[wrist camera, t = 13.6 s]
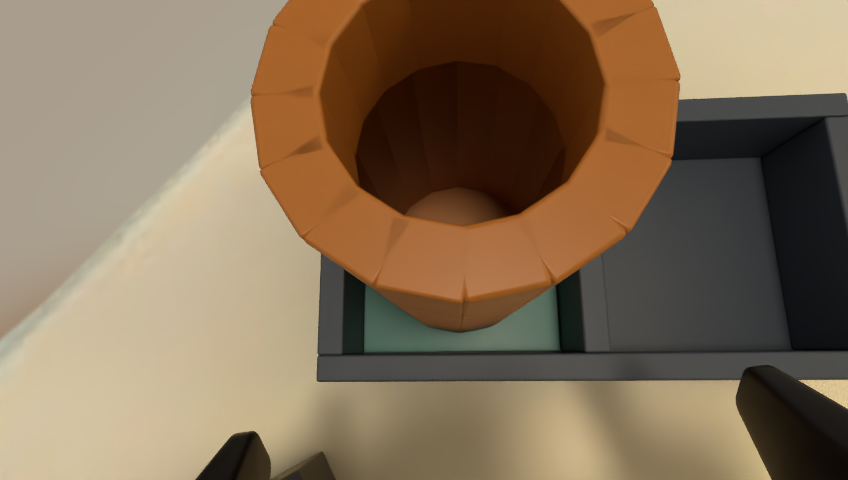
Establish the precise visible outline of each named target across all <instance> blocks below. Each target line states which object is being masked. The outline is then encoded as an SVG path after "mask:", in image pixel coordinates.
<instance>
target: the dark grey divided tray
mask: <svg viewBox="0 0 848 480" xmlns="http://www.w3.org/2000/svg"><path fill="white" fill-rule="evenodd" d="M671 160H672V162H671V166H670V167H669V169H668V171H667V172H666V174H665V176H664V177H663V179H662V181H661V182H660V184H659V186H658V187H657V189H656V191H655V192H654V194H653V196H652V197H651V199H650V201H649V202H648V204H647V206H646V207H645V209H644V211H643V212H642V214H641V216H640V217H639V219H638V221H637V222H636V224H635V226H634V227H633V229H632V230H631V231H630V232H628V233H627V234H626V235H625V237H624V238H623V239H622V240H620V241H619V242H617V243H616V244H615V245H613V246H612V247H610V248H609V249H607V250H606V251H605V252H603V253H602V254H600V255H599V256H597V257H596V258H594V259H593V260H592V261H590V262H589V263H587V264H586V265H584V266H583V267H581V268H580V269H579V270H577V271H576V272H574V273H573V274H571V275H570V276H568V277H567V278H566V279H564V280H563V281H561V282H560V283H558V284H557V285H555V286H554V287H552V288H551V289H549V290H547V291H546V292H544V293H543V294H541V295H540V296H538V297H537V298H535V299H534V300H532V301H531V302H529V303H528V304H526V305H524V306H523V307H521V308H520V309H518V310H517V311H515V312H514V313H512V314H511V315H509V316H508V317H506V318H504V319H503V320H501V321H500V322H498V323H497V324H495V325H494V326H491V327H488V328H483V329H480V330H476V331H469V332H464V333H456V332H450V331H444V330H440V329H435V328H430V327H429V326H426V325H425V324H423V323H422V322H420V321H419V320H417V319H416V318H414V317H413V316H411V315H410V314H408V313H407V312H405V311H404V310H402V309H401V308H399V307H398V306H397V305H395V304H394V303H392V302H391V301H389V300H388V299H386V298H385V297H384V296H382V295H381V294H379V293H378V292H376V291H375V290H373V289H372V288H371V287H369V286H368V285H366V284H365V283H363V282H362V281H361V280H359V279H358V278H356V277H355V276H353V275H352V274H350V273H349V272H348V271H346V270H345V269H343V268H342V267H340V266H339V265H337V264H336V263H335V262H333V261H332V260H330V259H329V258H327V257H326V256H325V255H323V254H322V253H321V273H320V300H319V326H318V355H319V356H318V358H317V381H318V382H399V381H640V380H741V377H742V374H743V371H744V370H745V369H746V368H747V367H753V366H760V365H771V366H774V367H776V368H778V369H779V370H781V371H783V372H785V373H786V374H788V375H790V376H791V377H793V378H795V379H797V380H848V101H847V96H846V94H845V93H836V94H811V95H786V96H761V97H736V98H711V99H686V100H679V101H678V111H677V121H676V131H675V141H674V151H673V156H672V158H671Z"/></svg>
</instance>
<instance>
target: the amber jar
mask: <svg viewBox="0 0 848 480" xmlns="http://www.w3.org/2000/svg"><path fill="white" fill-rule="evenodd" d="M679 80H680V73H679V70H678V67H677V64H676V61H675V59H674V56H673V53H672V50H671V47H670V45H669V42H668V39H667V36H666V33H665V31H664V28H663V25H662V22H661V19H660V17H659V14H658V11H657V8H656V7H654V4H653V2H652V1H651V0H289V1H288V2H287V3H286V5H285V6H284V7H283V9H282V10H281V11H280V12H279V14H278V15H277V16H276V17H275V19H274V20H273V25H272V26H270V28H269V30H268V34H267V37H266V40H265V44H264V48H263V51H262V55H261V58H260V61H259V65H258V68H257V72H256V75H255V78H254V82H253V85H252V89H251V95H252V97H251V108H252V116H253V123H254V131H255V139H256V146H257V154H258V161H259V167H260V169H261V171H260V173H261V176H262V177H263V179H264V180H265V182H266V184H267V185H268V187H269V188H270V190H271V192H272V193H273V195H274V196H275V198H276V200H277V201H278V203H279V204H280V206H281V208H282V209H283V211H284V212H285V214H286V216H287V217H288V219H289V220H290V222H291V224H292V225H293V227H294V228H295V230H296V232H297V233H298V235H299V236H300V237H301V238H302V239H304V240H305V242H306V243H307V244H309V245H310V246H312V247H313V248H314V249H316V250H317V251H319V252H320V253H322V254H323V255H325V256H326V257H327V258H329V259H330V260H332V261H333V262H335V263H336V264H337V265H339V266H340V267H342V268H343V269H345V270H346V271H348V272H349V273H350V274H352V275H353V276H355V277H356V278H358V279H359V280H361V281H362V282H363V283H365V284H366V285H368V286H369V287H371V288H372V289H373V290H375V291H376V292H378V293H379V294H381V295H382V296H384V297H385V298H386V299H388V300H389V301H391V302H392V303H394V304H395V305H397V306H398V307H399V308H401V309H402V310H404V311H405V312H407V313H408V314H410V315H411V316H413V317H414V318H416V319H417V320H419V321H420V322H422V323H423V324H425V325H426V326H429V327H430V328H435V329H440V330H444V331H450V332H456V333H464V332H469V331H476V330H480V329H483V328H488V327H491V326H494V325H495V324H497V323H498V322H500V321H501V320H503V319H504V318H506V317H508V316H509V315H511V314H512V313H514V312H515V311H517V310H518V309H520V308H521V307H523V306H524V305H526V304H528V303H529V302H531V301H532V300H534V299H535V298H537V297H538V296H540V295H541V294H543V293H544V292H546V291H547V290H549V289H551V288H552V287H554V286H555V285H557V284H558V283H560V282H561V281H563V280H564V279H566V278H567V277H568V276H570V275H571V274H573V273H574V272H576V271H577V270H579V269H580V268H581V267H583V266H584V265H586V264H587V263H589V262H590V261H592V260H593V259H594V258H596V257H597V256H599V255H600V254H602V253H603V252H605V251H606V250H607V249H609V248H610V247H612V246H613V245H615V244H616V243H617V242H619V241H620V240H622V239H623V238H624V237H625V235H626V234H627V233H628V232H630V231H631V230H632V229H633V227H634V226H635V224H636V222H637V221H638V219H639V217H640V216H641V214H642V212H643V211H644V209H645V207H646V206H647V204H648V202H649V201H650V199H651V197H652V196H653V194H654V192H655V191H656V189H657V187H658V186H659V184H660V182H661V181H662V179H663V177H664V176H665V174H666V172H667V171H668V169H669V167H670V166H671V162H672V160H671V158H672V156H673V151H674V141H675V131H676V121H677V111H678V101H679V91H680V84H679V82H678V81H679Z"/></svg>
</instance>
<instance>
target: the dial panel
mask: <svg viewBox="0 0 848 480" xmlns="http://www.w3.org/2000/svg"><path fill="white" fill-rule="evenodd" d="M271 480H335V478H334V475H333V473H332V471H331V469H330V467H329V464H328V462H327V460H326V458H325V456H324V453H323V452H320V453H318V454H316V455H314V456H312V457H311V458H309V459H307V460H305V461H303V462H302V463H300V464H298V465H296V466H295V467H293V468H291V469H289V470H287V471H286V472H284V473H282V474H280V475H279V476H277V477H275V478H273V479H271Z"/></svg>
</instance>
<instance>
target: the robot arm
mask: <svg viewBox="0 0 848 480" xmlns="http://www.w3.org/2000/svg"><path fill="white" fill-rule="evenodd" d="M736 405H737V409H738V411H739V413H740V415H741V418H742V420H743V422H744V424H745V426H746V428H747V430H748V432H749V434H750V436H751V438H752V440H753V442H754V444H755V446H756V448H757V450H758V452H759V455H760V457H761V459H762V461H763V463H764V465H765V467H766V469H767V471H768V473H769V475H770V477H771V479H772V480H848V409H847V408H845V407H843V406H842V405H840V404H838V403H836V402H835V401H833V400H831V399H830V398H828V397H826V396H824V395H823V394H821V393H819V392H817V391H816V390H814V389H812V388H810V387H809V386H807V385H805V384H804V383H802V382H800V381H798V380H797V379H795V378H793V377H791V376H790V375H788V374H786V373H785V372H783V371H781V370H779V369H778V368H776V367H774V366H771V365H760V366H753V367H747V368H746V369H745V370H744V371H743V374H742V377H741V381H740V384H739V387H738V391H737V394H736ZM270 473H271V462H270V457H269V455H268V453H267V451H266V449H265V447H264V445H263V443H262V441H261V439H260V437H259V435H258V434H257V433H256V432H254V431H249V432H242V433H236V434H234V435H232V436H231V437H230V438H229V439H228V441H227V442H226V443H225V444H224V445H223V447H222V448H221V449H220V450H219V451H218V453H217V454H216V455H215V456H214V458H213V459H212V460H211V461H210V462H209V464H208V465H207V466H206V467H205V469H204V470H203V471H202V472H201V473H200V475H199V476H198V477H197V478H196V479H195V480H270Z"/></svg>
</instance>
